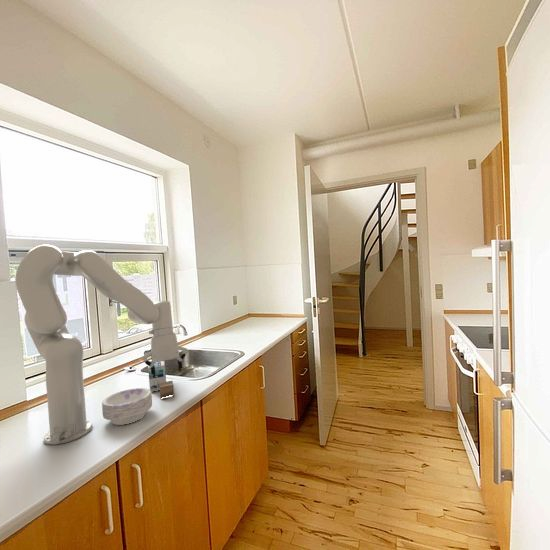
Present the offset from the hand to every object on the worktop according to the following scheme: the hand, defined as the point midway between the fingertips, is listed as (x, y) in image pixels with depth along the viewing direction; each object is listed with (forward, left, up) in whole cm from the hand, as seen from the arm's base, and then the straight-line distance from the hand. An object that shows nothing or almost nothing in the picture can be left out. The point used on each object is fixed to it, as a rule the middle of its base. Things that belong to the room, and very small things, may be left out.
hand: (167, 373), depth 117 cm
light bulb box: (+12, +4, -9) cm, 15 cm away
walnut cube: (0, +1, -9) cm, 9 cm away
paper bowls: (-13, +14, -9) cm, 21 cm away
